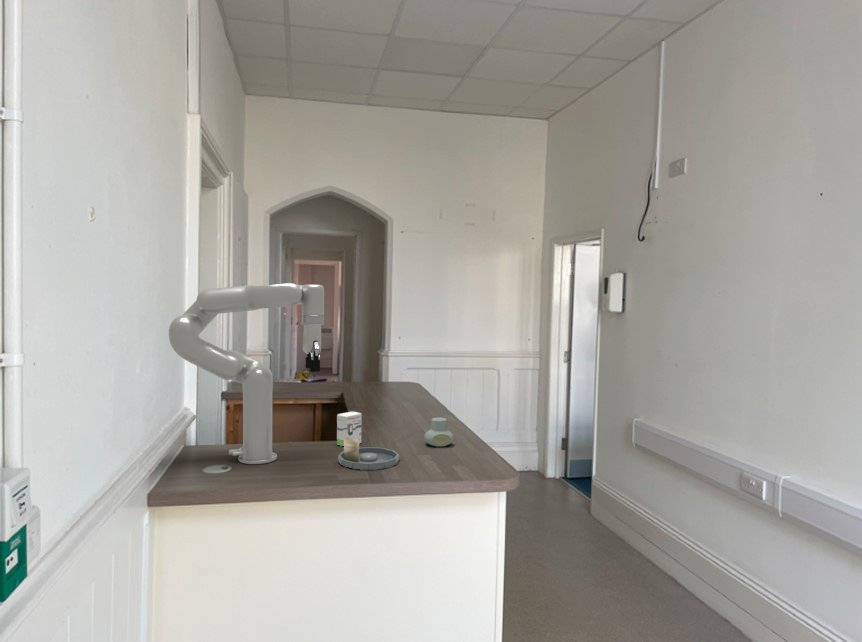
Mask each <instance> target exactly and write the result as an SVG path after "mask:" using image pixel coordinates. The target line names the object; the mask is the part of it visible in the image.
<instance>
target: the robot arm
mask: <svg viewBox="0 0 862 642" xmlns="http://www.w3.org/2000/svg"><path fill="white" fill-rule="evenodd" d="M296 305H301V325H303V336H302V337H303V339H302V351H303V353H304V354H305V368H306V369H309V371H310V372H311V373H315V372H317V373H318V372H320V371H321V356H320V354H321V352H322V325H323V326H324V325H325V287H324V286H323V285H322V284H296V283H291V282H288V283H279V284H267V285H266V284H264V285H251V284H249V285H237V286H236V285H235V286H225V287H214V288H205V289H202V290H201V291H200V292H199V293H198V294H197V296H196V300H195V301H194V302H193V303H192V304H191V306H190V307H189V308H188V309H186V311H184V313H182V314H181V315H179V316H176V317H175V318H174V319H172V321H171V323H170V325H169V329H168V338H169V344H170V345H171V347H172V349H173V351H174V352H175V353H176V354H177V355H178V356H179V357H180V358H182V359H183V360H185V361H187V362H189V363H190V364H192V365H194V366H196V367H198V368H201V369H202V370H204V371H206V372H208V373H210V374H212V375H215V376H216V377H218V378H220V379H222V380H224V381H232V380H233V381H234V382H236V383H239V384H241V385H242V415H243V416H242V421H243V422H242V428H243V429H242V443H243V444H242V445H241V447H238V448H236V449H235V448H232V449H228V456H232V457H237V456H238V458H237V460H238V462H239V463H242V464H245V465H261V464H269V463H271V462H274V461H276V460H277V459H278V454H277V453H275V452H273V391H274V390H273V388H274V381H273V380H274V379H273V373H272V370H271V369H270V368H269V367H268V365H266V364H264V363H262V362H260V361H257V360H255V359H254V358H251V357H250V356H248V355H246V354H243V353H241V352H240V351H237V350H235V349H234V350H233V349H227V350H225V349H223V348H221V347H218V346H216V345H215V344H213V343H210V342H208V341H206V340H204V339H202V338H201V337H200V335H201V333H202V332H203V331H204V330H205V329H206V328H207V327H208V326H209V324H210V323H212V322H213V320H214V319H215V318H216V317H217V316H218V315H220V314H228V313H238V312H239V313H240V312H249V311H251V312H253V311H256V310H262V309H263V310H264V309H272V308H282V307H292V306H296Z"/></svg>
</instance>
